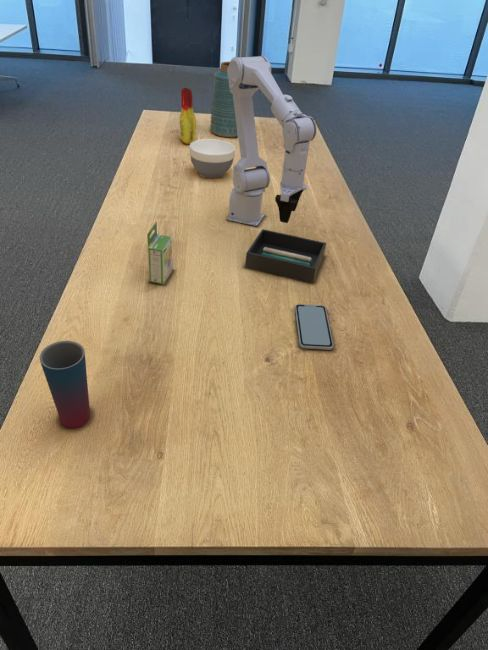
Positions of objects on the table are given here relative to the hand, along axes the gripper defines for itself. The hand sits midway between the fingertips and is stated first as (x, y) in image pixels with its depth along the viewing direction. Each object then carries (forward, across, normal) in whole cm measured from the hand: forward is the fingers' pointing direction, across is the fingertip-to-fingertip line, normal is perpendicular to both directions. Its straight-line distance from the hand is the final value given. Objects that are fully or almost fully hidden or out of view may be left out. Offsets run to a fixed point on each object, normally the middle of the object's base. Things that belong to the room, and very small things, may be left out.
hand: (287, 215), depth 136 cm
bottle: (+10, +66, +59) cm, 89 cm away
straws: (+9, -8, -3) cm, 13 cm away
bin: (+9, -8, -3) cm, 13 cm away
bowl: (+10, +39, +38) cm, 55 cm away
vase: (+10, +85, +48) cm, 98 cm away
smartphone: (+9, -33, -16) cm, 38 cm away
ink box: (+10, -29, +24) cm, 39 cm away
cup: (+9, -76, +18) cm, 78 cm away
